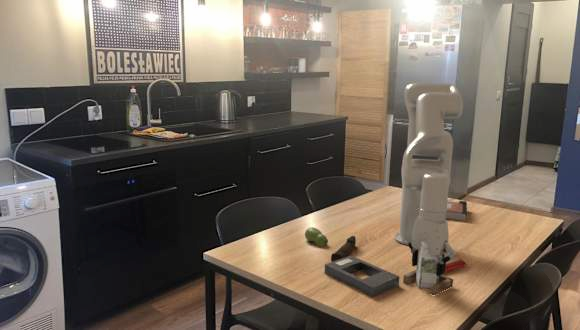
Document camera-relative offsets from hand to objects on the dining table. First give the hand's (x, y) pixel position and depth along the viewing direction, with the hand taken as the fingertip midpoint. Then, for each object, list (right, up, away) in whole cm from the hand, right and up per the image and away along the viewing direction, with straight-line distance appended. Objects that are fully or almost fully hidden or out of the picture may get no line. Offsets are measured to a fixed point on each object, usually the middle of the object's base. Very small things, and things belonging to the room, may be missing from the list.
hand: (427, 269), depth 143 cm
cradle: (0, -5, +1) cm, 5 cm away
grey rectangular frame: (-20, -4, +4) cm, 20 cm away
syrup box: (0, -5, +1) cm, 5 cm away
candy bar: (+10, -3, +13) cm, 17 cm away
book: (+25, +9, +73) cm, 78 cm away
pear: (-32, +2, +34) cm, 46 cm away
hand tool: (-23, 0, +24) cm, 33 cm away
